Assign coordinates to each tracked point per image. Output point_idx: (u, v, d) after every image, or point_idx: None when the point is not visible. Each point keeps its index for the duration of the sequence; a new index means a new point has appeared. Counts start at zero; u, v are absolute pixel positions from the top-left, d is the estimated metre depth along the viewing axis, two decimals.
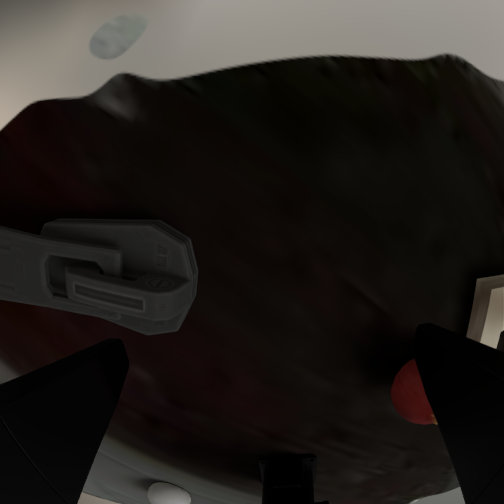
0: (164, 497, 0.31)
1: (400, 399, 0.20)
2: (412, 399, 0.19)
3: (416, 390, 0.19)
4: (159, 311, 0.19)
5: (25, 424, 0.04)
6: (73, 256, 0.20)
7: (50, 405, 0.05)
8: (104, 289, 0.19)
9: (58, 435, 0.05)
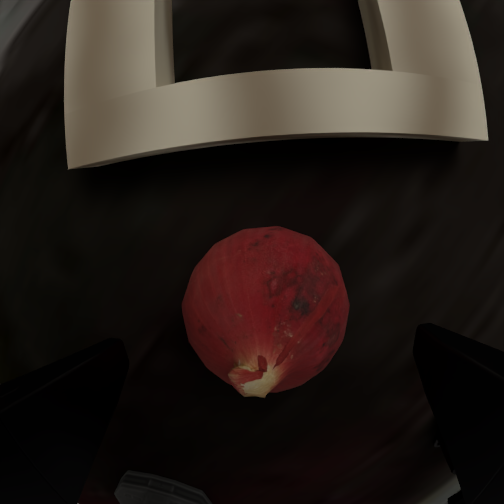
0: None
1: None
2: None
3: None
4: None
5: (25, 424, 0.04)
6: None
7: (50, 405, 0.05)
8: None
9: (58, 435, 0.05)
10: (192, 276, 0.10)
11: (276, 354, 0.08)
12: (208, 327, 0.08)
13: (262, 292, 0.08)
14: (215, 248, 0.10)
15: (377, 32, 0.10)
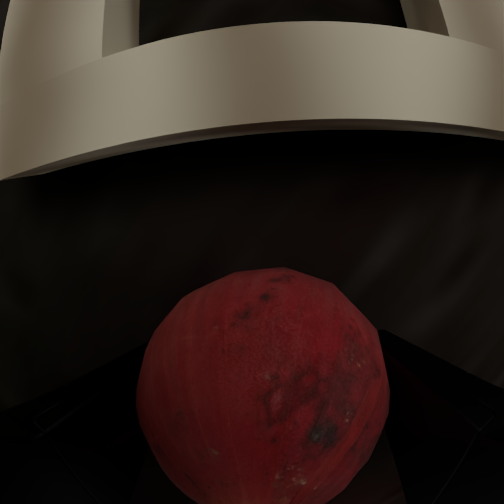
0: None
1: None
2: None
3: None
4: None
5: (74, 441, 0.04)
6: None
7: (97, 417, 0.05)
8: None
9: (107, 449, 0.05)
10: (146, 352, 0.06)
11: None
12: (166, 452, 0.04)
13: (254, 416, 0.04)
14: (180, 312, 0.06)
15: None
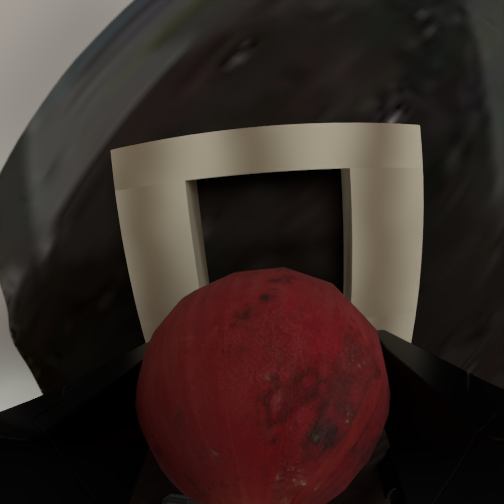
0: None
1: None
2: None
3: None
4: None
5: (74, 441, 0.04)
6: None
7: (98, 416, 0.05)
8: None
9: (107, 449, 0.05)
10: (146, 353, 0.06)
11: None
12: (166, 453, 0.04)
13: (254, 417, 0.04)
14: (179, 313, 0.06)
15: (348, 282, 0.19)
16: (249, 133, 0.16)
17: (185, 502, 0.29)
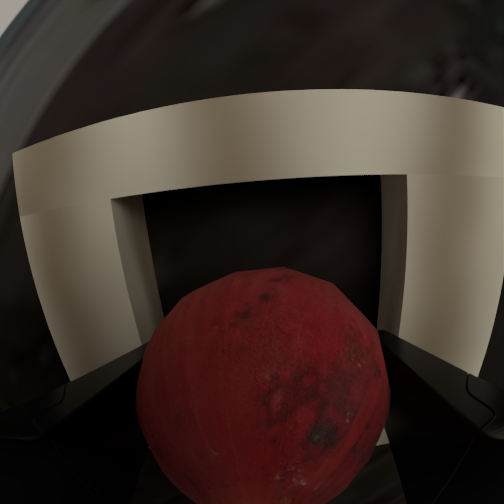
0: None
1: None
2: None
3: None
4: None
5: (74, 441, 0.04)
6: None
7: (98, 417, 0.05)
8: None
9: (107, 449, 0.05)
10: (146, 352, 0.06)
11: None
12: (166, 452, 0.04)
13: (254, 416, 0.04)
14: (179, 312, 0.06)
15: None
16: (219, 106, 0.08)
17: None
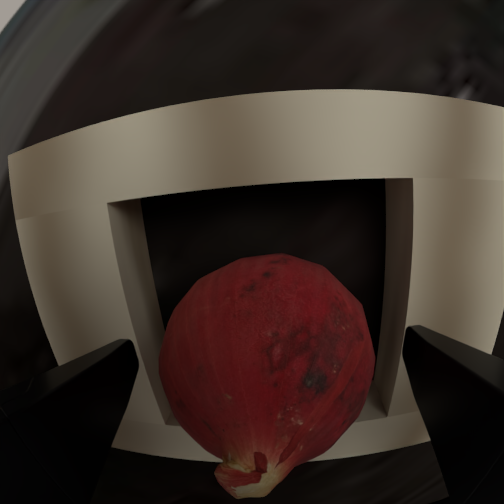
0: None
1: None
2: None
3: None
4: None
5: (36, 428, 0.04)
6: None
7: (60, 408, 0.05)
8: None
9: (69, 439, 0.05)
10: (168, 325, 0.07)
11: (279, 450, 0.05)
12: (187, 404, 0.06)
13: (259, 364, 0.05)
14: (197, 290, 0.07)
15: (389, 365, 0.10)
16: (219, 107, 0.08)
17: None
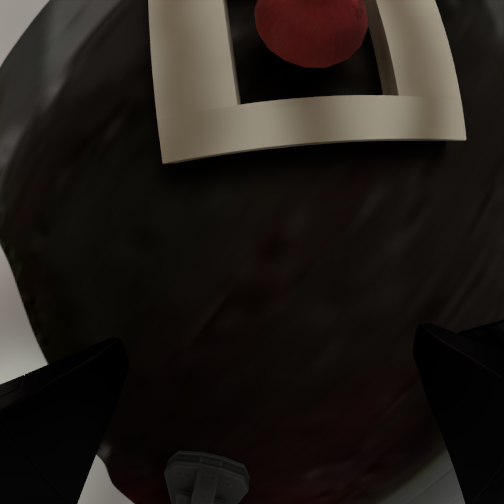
0: None
1: (314, 54, 0.12)
2: (301, 36, 0.11)
3: (285, 34, 0.11)
4: (205, 498, 0.22)
5: (25, 424, 0.04)
6: None
7: (50, 405, 0.05)
8: None
9: (58, 435, 0.05)
10: None
11: None
12: None
13: None
14: None
15: (387, 65, 0.15)
16: None
17: (197, 460, 0.25)
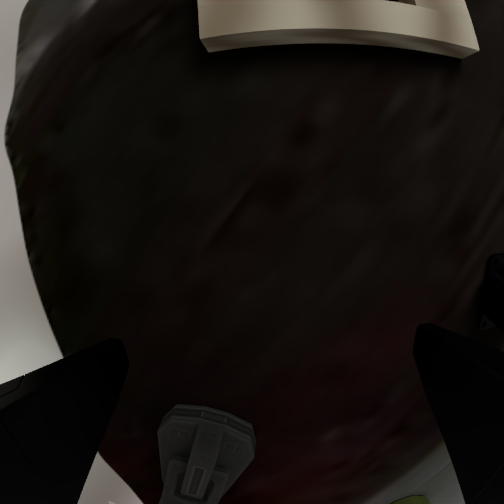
0: None
1: None
2: None
3: None
4: (205, 461, 0.20)
5: (25, 424, 0.04)
6: (173, 483, 0.23)
7: (50, 405, 0.05)
8: (189, 481, 0.21)
9: (58, 435, 0.05)
10: None
11: None
12: None
13: None
14: None
15: None
16: None
17: (198, 414, 0.23)
